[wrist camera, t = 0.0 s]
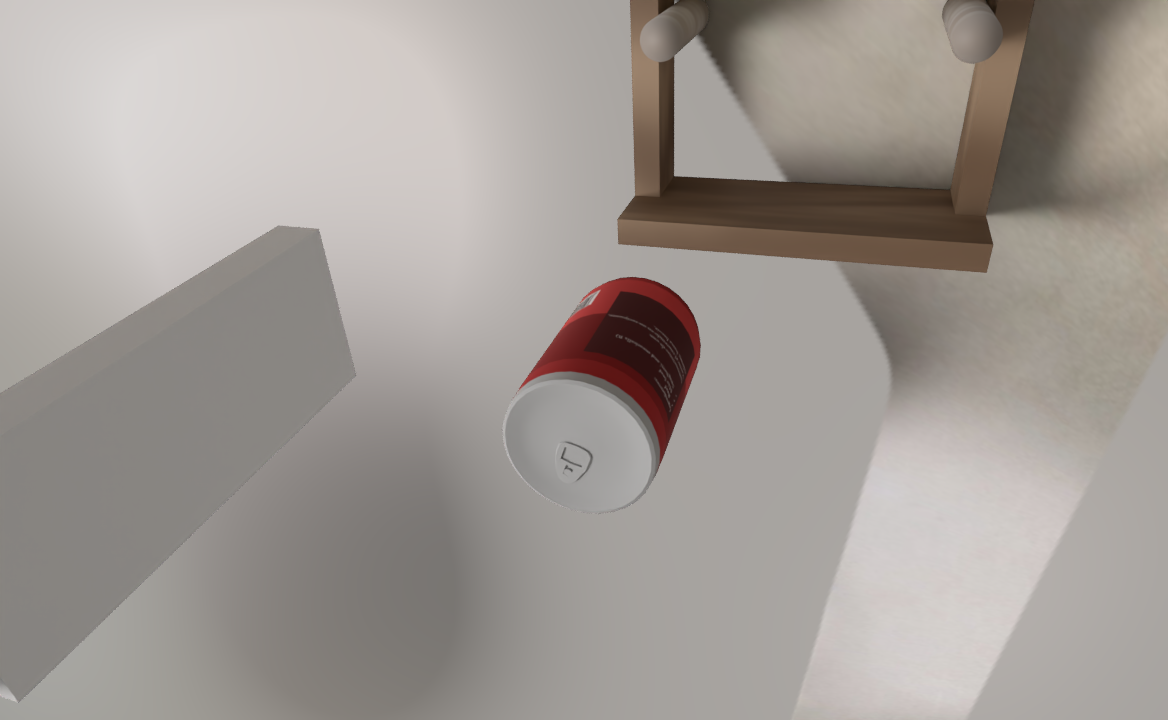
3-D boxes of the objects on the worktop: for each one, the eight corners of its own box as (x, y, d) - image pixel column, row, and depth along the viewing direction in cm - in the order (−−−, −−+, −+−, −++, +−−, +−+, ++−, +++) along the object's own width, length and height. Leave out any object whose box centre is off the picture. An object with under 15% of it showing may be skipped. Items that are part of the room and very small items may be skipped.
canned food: (576, 380, 48) (505, 497, 39) (574, 262, 44) (494, 365, 35) (698, 402, 46) (653, 531, 37) (709, 281, 42) (660, 395, 33)
